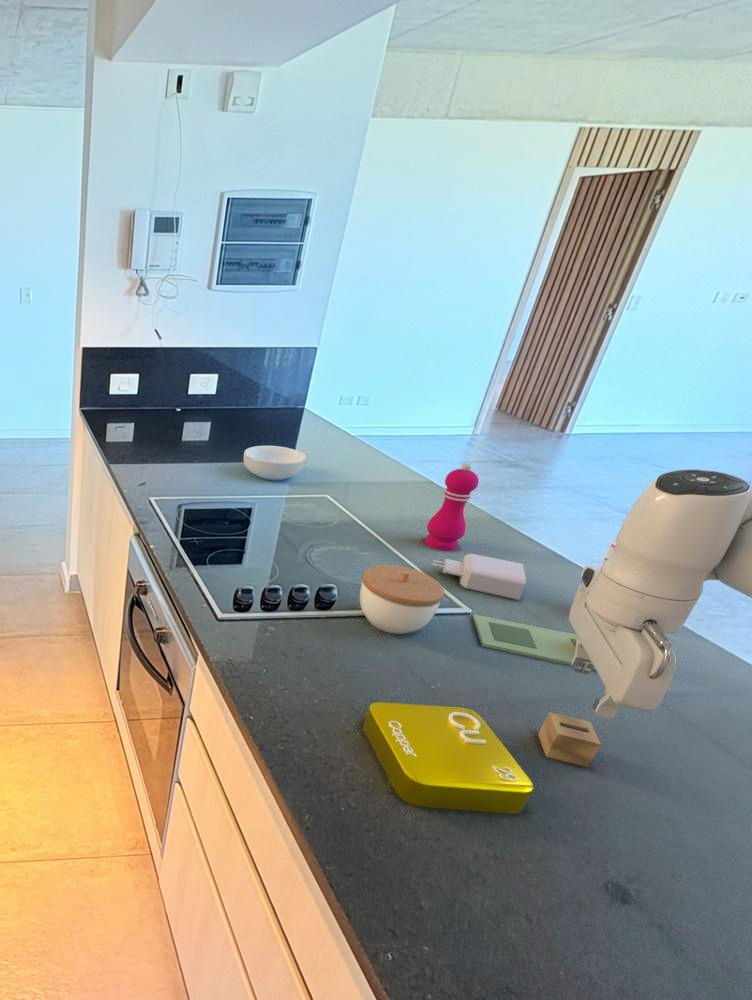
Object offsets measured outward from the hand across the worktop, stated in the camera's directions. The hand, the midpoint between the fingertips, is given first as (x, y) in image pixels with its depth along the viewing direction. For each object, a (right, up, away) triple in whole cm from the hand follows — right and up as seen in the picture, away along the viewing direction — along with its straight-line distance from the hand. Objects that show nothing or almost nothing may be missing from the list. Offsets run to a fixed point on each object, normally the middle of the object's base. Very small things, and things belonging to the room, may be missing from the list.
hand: (590, 691), depth 80 cm
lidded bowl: (-7, +4, +33) cm, 34 cm away
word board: (+17, +1, +26) cm, 31 cm away
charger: (+17, +11, +46) cm, 50 cm away
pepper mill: (+21, +18, +60) cm, 66 cm away
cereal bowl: (-3, +38, +101) cm, 108 cm away
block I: (0, -10, +5) cm, 11 cm away
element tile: (-18, -11, +3) cm, 22 cm away
